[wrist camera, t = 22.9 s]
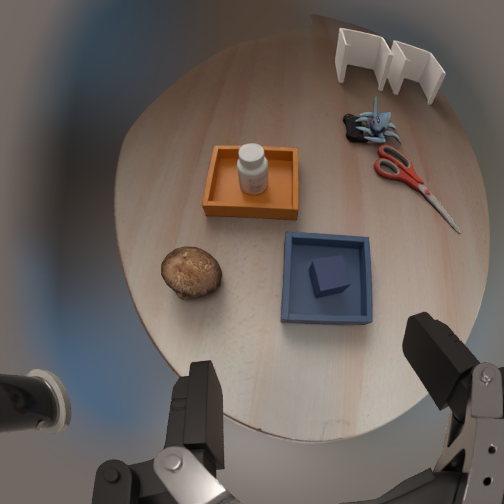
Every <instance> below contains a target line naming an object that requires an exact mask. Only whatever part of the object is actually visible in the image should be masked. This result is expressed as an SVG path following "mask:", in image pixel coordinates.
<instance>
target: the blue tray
mask: <svg viewBox="0 0 504 504" xmlns="http://www.w3.org/2000/svg"><path fill="white" fill-rule="evenodd" d="M342 254H343V257H344V261H345V264H346V268H347V271H348V275H349V278H350V282H351V285H350V286H349V287H348V288H347V289H345V290H344V291H343V292H340V293H336V294H332V295H327V296H323V297H319V298H315V295H314V291H313V287H312V283H311V279H310V275H309V271H308V270H309V268H310V266H311V263H312V261H313V260H317V259H322V258H327V257H332V256H337V255H342ZM281 322H284V323H304V324H337V325H365V324H368V323H371V322H372V276H371V258H370V244H369V237H359V236H346V235H332V234H317V233H302V232H286V236H285V249H284V270H283V289H282V306H281Z"/></svg>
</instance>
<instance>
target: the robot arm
mask: <svg viewBox="0 0 504 504" xmlns="http://www.w3.org/2000/svg"><path fill="white" fill-rule="evenodd" d="M402 348H403V353H404V355H405V357H406V359H407V360H408V362H409V363H410V365H411V366H412V368H413V369H414V371H415V372H416V374H417V375H418V377H419V378H420V380H421V381H422V383H423V385H424V386H425V388H426V389H427V391H428V392H429V394H430V396H431V397H432V399H433V400H434V402H435V404H436V405H437V407H438V408H439V410H440V411H441V410H442V409H444V408H446V407H448V406H449V407H450V409H451V410H450V413H449V417H448V424H447V430H446V435H445V440H444V445H443V450H442V453H441V455H440V457H439V459H438V461H437V463H436V465H435V468H434V471H433V472H432V470H431V468H429V469H427V470H425V471H423V472H421V473H419V474H417V475H415V476H413V477H411V478H408V479H406V480H404V481H403V482H402V483H400V484H399V485H397V486H396V487H394V488H393V489H391V490H390V491H389V492H387V493H386V494H384V495H383V496H381V497H380V498H377V499H374V500H367V501H358V502H348V503H341V504H504V367H501V368H497V367H496V366H495V365H493V364H491V363H487V362H484V363H480V362H479V361H478V360H477V359H476V358H475V356H474V355H473V354H472V353H471V352H470V351H469V349H468V348H467V347H466V346H465V345H464V344H463V342H462V341H461V340H459V338H458V337H457V336H456V335H455V334H454V332H453V331H452V330H451V329H450V328H449V327H448V326H447V325H446V324H444V323H442V322H440V321H439V320H434V319H433V318H432V317H431V316H430V315H429V314H428V313H427V312H422V313H419V314H416V315H413V316H410V317H409V318H408V321H407V326H406V330H405V335H404V339H403V344H402ZM170 409H171V410H170V412H169V419H168V426H167V434H166V442H165V446H164V448H163V450H162V451H160V452H159V453H158V454H157V456H156V457H155V458H154V459H152V460H149V461H146V462H141V463H137V464H132V465H126V464H125V463H124V462H122V461H119V460H109V461H106V462H104V463H103V464H101V465H100V466H99V468H98V470H97V472H96V477H95V484H94V491H93V498H92V504H242V503H241V502H240V501H239V500H237V499H236V498H235V497H234V496H233V495H232V494H231V493H230V492H228V491H227V490H226V489H225V488H224V487H223V486H222V485H221V484H220V483H219V482H218V481H217V480H216V470H220V469H224V439H223V438H224V436H223V395H222V389H221V385H220V382H219V380H218V377H217V374H216V372H215V369H214V366H213V364H212V362H211V360H208V361H199V362H192V363H191V364H190V371H189V376H184V377H180V378H179V379H178V381H177V382H176V384H175V385H174V387H173V392H172V401H171V405H170ZM59 416H60V406H59V401H58V398H57V395H56V393H55V391H54V389H53V387H52V386H51V384H50V383H49V382H48V381H47V380H46V379H44V378H43V377H40V376H18V375H6V374H0V433H9V432H18V431H26V430H33V429H35V430H39V429H40V428H49V427H53V426H55V425H56V424H57V422H58V420H59Z"/></svg>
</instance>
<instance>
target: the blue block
mask: <svg viewBox="0 0 504 504" xmlns="http://www.w3.org/2000/svg"><path fill="white" fill-rule="evenodd" d="M308 271H309V275H310V279H311V283H312V287H313V291H314V295H315V298H319V297H323V296H327V295H332V294H336V293H340V292H343V291H344V290H345V289H347V288H348V287H349V286H350V285H351V282H350V278H349V275H348V271H347V268H346V264H345V261H344V257H343V254H342V255H337V256H332V257H327V258H322V259H317V260H313V261H312V263H311V266H310V268H309V270H308Z"/></svg>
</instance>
